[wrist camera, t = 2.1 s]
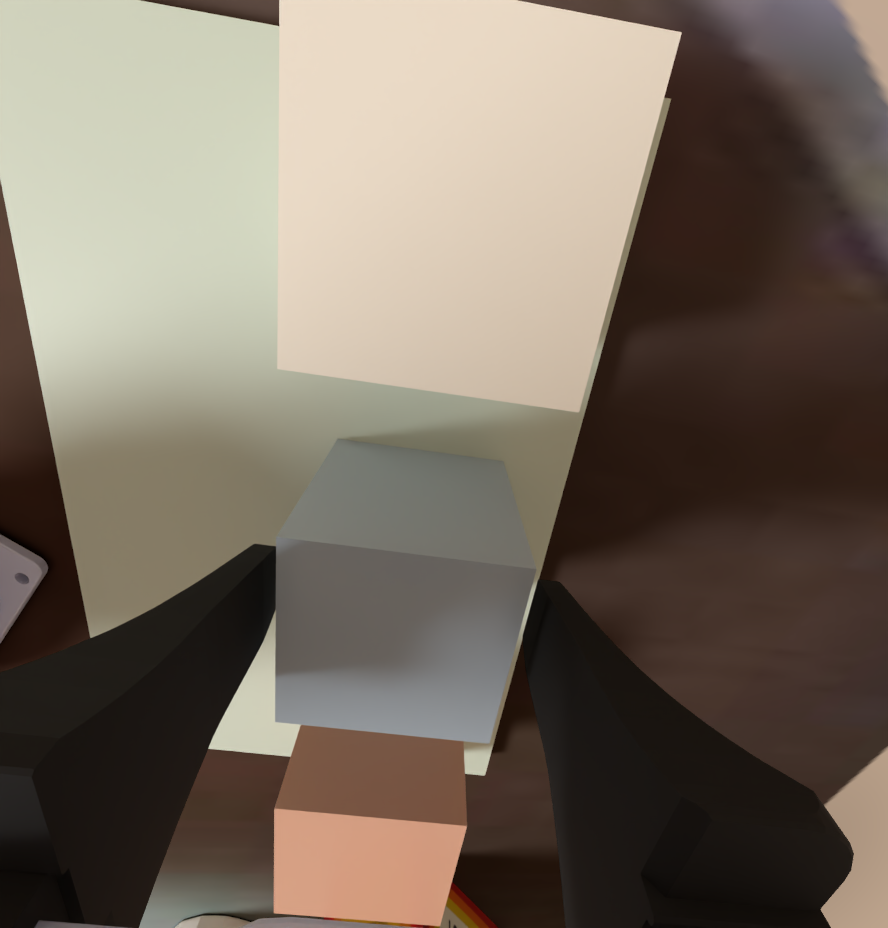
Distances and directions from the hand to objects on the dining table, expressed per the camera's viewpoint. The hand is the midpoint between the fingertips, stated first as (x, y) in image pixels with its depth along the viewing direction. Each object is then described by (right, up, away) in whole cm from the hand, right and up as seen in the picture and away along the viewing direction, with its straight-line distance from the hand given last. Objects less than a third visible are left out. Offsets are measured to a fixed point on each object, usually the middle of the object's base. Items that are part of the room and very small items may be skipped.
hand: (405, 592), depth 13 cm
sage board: (-4, +2, +4) cm, 6 cm away
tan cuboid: (+1, +10, 0) cm, 10 cm away
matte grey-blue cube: (0, +1, +4) cm, 4 cm away
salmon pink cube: (-1, -7, +7) cm, 10 cm away
